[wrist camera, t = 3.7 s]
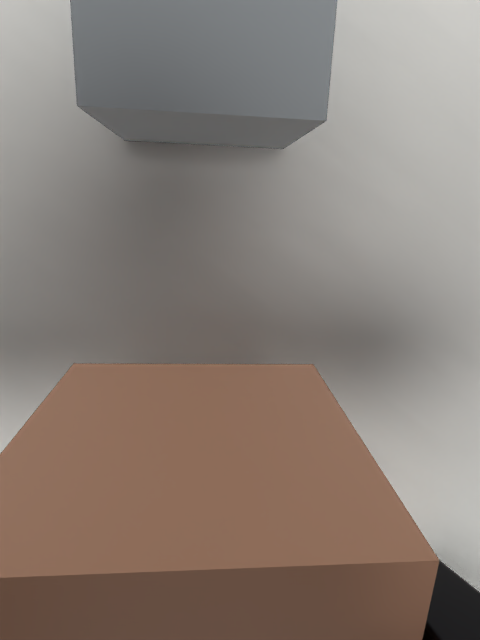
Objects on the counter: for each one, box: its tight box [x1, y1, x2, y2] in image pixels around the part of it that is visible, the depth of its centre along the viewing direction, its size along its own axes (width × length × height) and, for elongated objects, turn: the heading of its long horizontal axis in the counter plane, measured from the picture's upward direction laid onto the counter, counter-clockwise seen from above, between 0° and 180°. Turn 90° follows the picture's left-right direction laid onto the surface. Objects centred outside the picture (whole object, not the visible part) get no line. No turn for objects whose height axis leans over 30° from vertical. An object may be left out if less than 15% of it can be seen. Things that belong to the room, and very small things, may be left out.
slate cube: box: [70, 0, 337, 149], centre depth 10 cm, size 5×5×5 cm
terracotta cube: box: [0, 364, 439, 640], centre depth 7 cm, size 5×5×5 cm
